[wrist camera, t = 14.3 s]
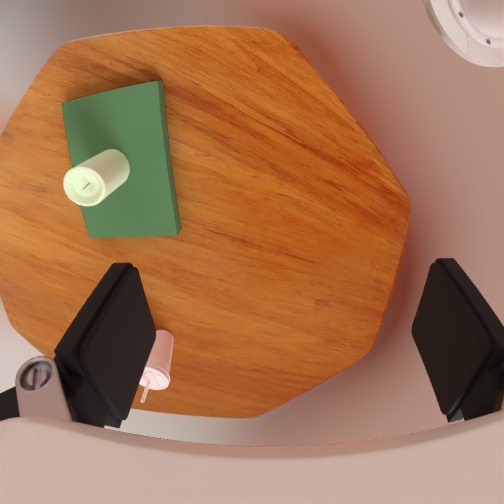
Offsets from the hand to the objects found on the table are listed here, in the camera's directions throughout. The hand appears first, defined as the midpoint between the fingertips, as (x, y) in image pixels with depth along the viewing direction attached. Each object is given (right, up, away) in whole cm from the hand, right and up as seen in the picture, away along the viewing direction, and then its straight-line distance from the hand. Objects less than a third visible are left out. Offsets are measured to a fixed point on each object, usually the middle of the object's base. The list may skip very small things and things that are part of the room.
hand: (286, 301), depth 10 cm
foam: (-18, +13, +29) cm, 36 cm away
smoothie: (-17, -14, +44) cm, 49 cm away
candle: (-19, +12, +27) cm, 35 cm away
